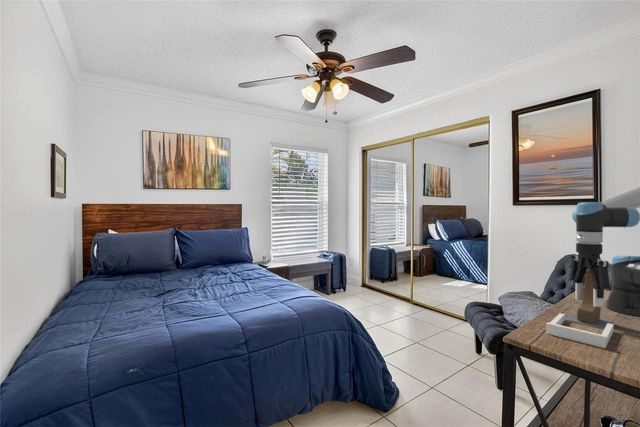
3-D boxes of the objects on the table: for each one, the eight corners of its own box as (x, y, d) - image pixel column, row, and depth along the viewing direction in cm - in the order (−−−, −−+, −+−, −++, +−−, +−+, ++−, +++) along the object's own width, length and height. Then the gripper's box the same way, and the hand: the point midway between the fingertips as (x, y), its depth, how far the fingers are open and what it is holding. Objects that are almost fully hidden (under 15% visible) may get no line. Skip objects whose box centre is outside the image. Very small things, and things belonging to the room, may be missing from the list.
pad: (571, 313, 124) (571, 312, 124) (611, 322, 115) (611, 321, 115) (564, 320, 117) (564, 319, 117) (607, 329, 108) (607, 328, 108)
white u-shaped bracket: (559, 319, 118) (559, 310, 118) (613, 331, 107) (613, 321, 106) (546, 333, 105) (546, 323, 105) (605, 348, 94) (605, 337, 94)
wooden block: (591, 324, 112) (596, 275, 111) (576, 319, 116) (580, 272, 115) (599, 319, 117) (604, 273, 116) (585, 315, 121) (589, 270, 119)
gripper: (558, 240, 126) (558, 295, 126) (603, 246, 106) (602, 312, 106) (577, 240, 126) (576, 295, 126) (625, 246, 105) (624, 312, 106)
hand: (588, 302), depth 116 cm, fingers open, 7 cm apart
